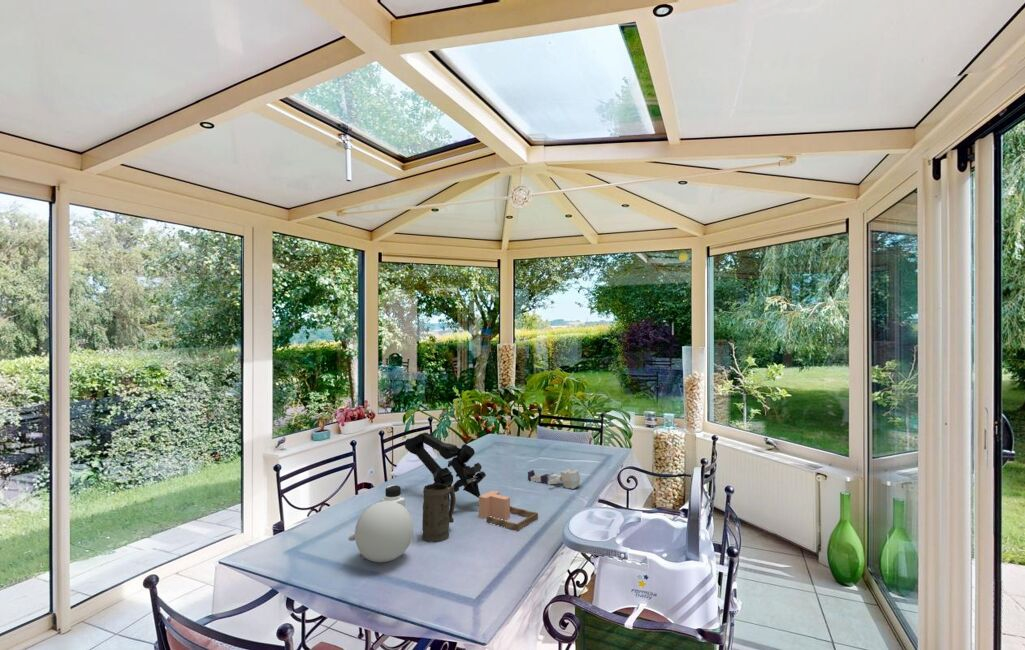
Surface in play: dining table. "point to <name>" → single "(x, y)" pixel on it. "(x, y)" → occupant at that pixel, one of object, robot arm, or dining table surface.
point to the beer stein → (437, 511)
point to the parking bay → (531, 518)
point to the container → (394, 495)
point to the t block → (494, 505)
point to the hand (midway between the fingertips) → (479, 497)
